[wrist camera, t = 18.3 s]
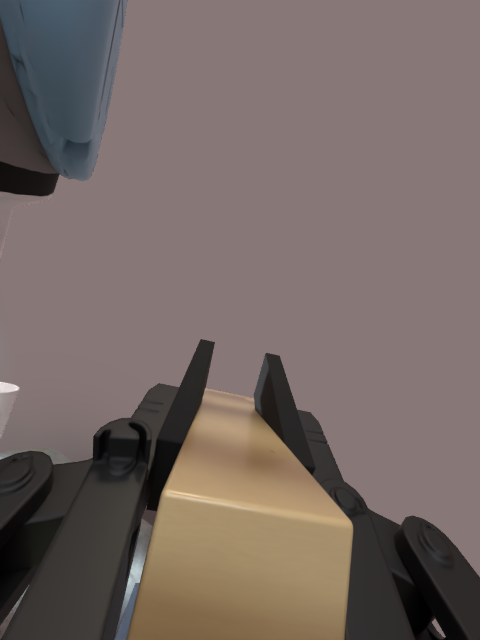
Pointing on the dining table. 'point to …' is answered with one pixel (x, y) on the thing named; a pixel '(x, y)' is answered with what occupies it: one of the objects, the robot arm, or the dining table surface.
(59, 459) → the dining table surface
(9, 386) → the canister
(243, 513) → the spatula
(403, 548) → the robot arm
